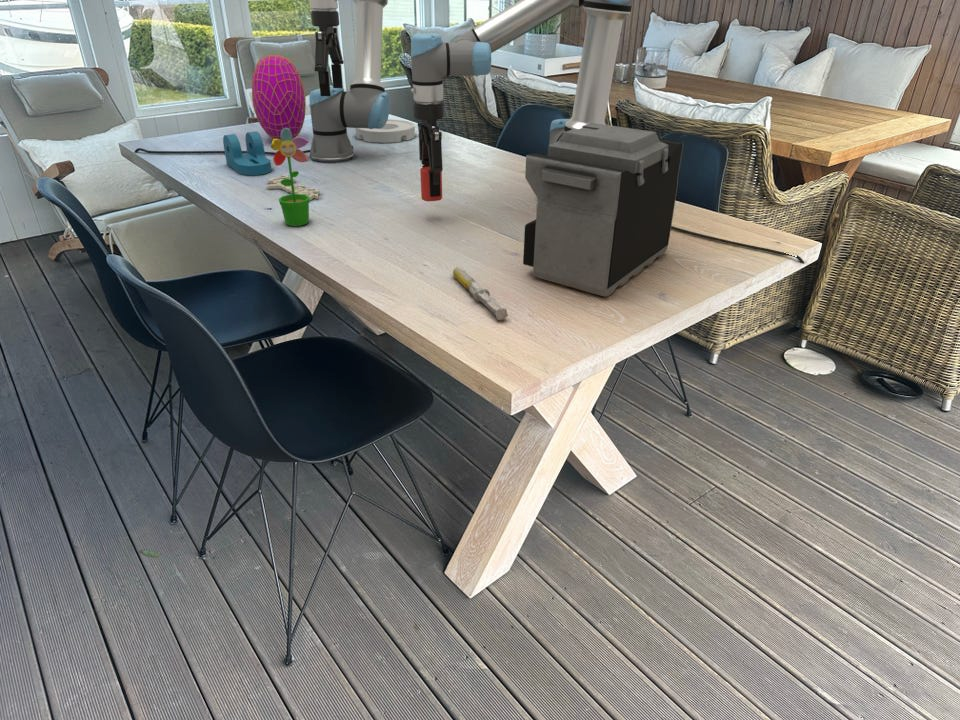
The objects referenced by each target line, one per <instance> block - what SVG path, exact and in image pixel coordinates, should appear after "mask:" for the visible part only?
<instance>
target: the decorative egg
mask: <svg viewBox="0 0 960 720" xmlns="http://www.w3.org/2000/svg"><path fill="white" fill-rule="evenodd" d="M253 70H254V71H253V73H252V77H251V101H252V107H253V110H254V114H255V116H256V118H257V121H258V123H259V125H260V127H261V128H262V130H263V131H264V133H266V135H267V136H268V137H270V138H271V139H272V140H273V139H279V140H281V136H280V134H281V131H282V130H283V129H284V128H288V129H289V130H290V131H291V134H292V139H293V138H295V137H298V136H299V134H301V131H302V129H303V127H304V123H305V118H306V104H307V103H306V102H307V101H306V99H307V97H306V93H305V88H304V84H303V81H302V77H301V75H300V73H299V71H298V69H297V67H296V66H295V65H294V63H293V62H292V61H291V60H290V59H288V58H287V57H285V56H282V55H280V54H268V55H265V56H262V57H261V58H260V59H259V60H258V61H257V62H256V65H255V68H254V69H253ZM281 141H282V140H281Z"/></svg>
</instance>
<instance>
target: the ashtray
mask: <svg viewBox="0 0 960 720" xmlns="http://www.w3.org/2000/svg"><path fill="white" fill-rule="evenodd" d="M415 128H416V127H415V124H414V123H413V122H411V121H408V120H403V119H390V118H388V120H387V122H386V124H385V126H384V127H382V128H378V129H369V128H355V137H356V138H357V139H358V140H363V141H364V142H369V143H381V144H382V143H383V144H384V143H386V144H387V143H388V144H389V143H399V142H402V141H409V140H410V141H411V140H412V139H414V138H415V137H416V131H415V130H416V129H415Z"/></svg>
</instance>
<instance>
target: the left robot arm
mask: <svg viewBox="0 0 960 720" xmlns="http://www.w3.org/2000/svg"><path fill="white" fill-rule="evenodd" d="M338 1H339V0H308V2H309V8H310V9H311V11H310V20H311V25H312V26H313V27H317V28H318V31H315V33H314V36H315V52H314V53H315V55H314V56H315V57H314V72H317V73H318V74H317V75H318V83H319V88H316V89H313V90H312V91H311V92H309V96H308V98H309V99H308V100H309V104H308V106H309V109H310V110H309V111H310V119H311V127H312V141H311V144H310V149H307V150H301V151H302V152H304V153H305V154H309V158H310V160H312V161H315V162H319V163H342V162H346V161H349V160H352V159H354V158H355V152H354V146H353V145H352V143H351V141H350V138H349V135H348V130H347V128H349V129H356V128H369V129H378V128H382V127H384V126H385V124H386V122H387V120H388V119H389V116H390V109H391V102H390V101H391V99H390V95H389V94H388V93H387V92H386V88H385V86H383V84H382V83H381V79H382V78H381V77H382V74H381V73H382V49H383V48H382V47H383V46H382V44H383V20H384V19H383V17H384V15H383V14H384V8H386V6H387V5H388V3H389V1H388V0H352V2H353V3H354V4H355V5H356V20H355V21H356V22H355V23H356V25H355V27H356V28H355V64H354V68H355V69H354V80H353V82H352V83H350V85H349V90H348V91H345V89H344V87H343V86H344V85H343V74H342V65H344V60H343V55H342V49H341V45H340V41H339V35H338V28H337V27H339V25H340V16H339V15H340V13H339V11H338V10H337V9H338V8H339V6H338V5H339V4H338ZM329 57H330V61H331V65H330V67H331V79H332V85H331V84H330V74H329V71H328V65H329V64H328V63H329ZM140 151H141V152H144V153H147V154H158V155H159V154H167V155H169V154H170V155H171V154H173V155H175V154H176V155H177V154H181V155H187V154H190V155H191V154H193V155H194V154H198V155H199V154H200V155H201V154H225V150H148V149H145V148H143V147H138V148H136V149H135V150H134V152H133V153H135V154H137V153H138V152H140ZM264 152H265V155H271V156H272V155H273V156H274V155H275V153H276V152H277V151H275V152H274V151H264ZM242 153H247V150H242Z"/></svg>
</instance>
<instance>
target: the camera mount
mask: <svg viewBox="0 0 960 720" xmlns="http://www.w3.org/2000/svg"><path fill="white" fill-rule="evenodd" d="M222 140H223V141H222V143H223V149H224V150H223V151H225V153H224V156H225V161H226V165H227V166H228V167H230V168H231V169H232V170H234V171H236V172H237V173H238V174H239V175H244V176H260V175H265V174H268V173H271V172H272V164H271V159H270V158H268V157H267V156H266V154H265V152H266V151H265V145H264V141H263V139H262V136H261V134H260V132H258V131H247V132H246V133H245V146H246V151H247V153H242V151H243V149H242V146H241V142H240V140H239V138H238V135H236V134H235V133H231V134H224V135H223V138H222Z"/></svg>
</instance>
